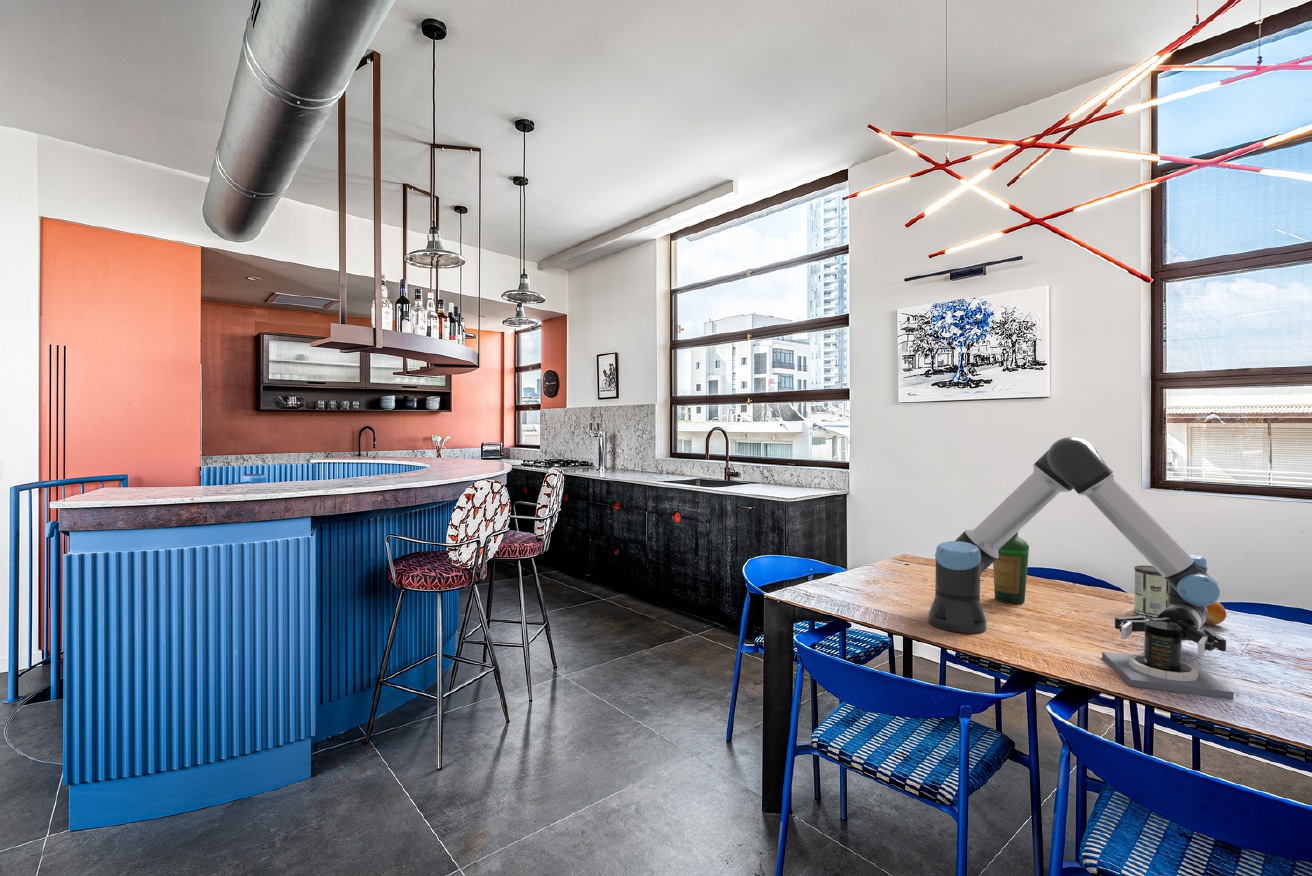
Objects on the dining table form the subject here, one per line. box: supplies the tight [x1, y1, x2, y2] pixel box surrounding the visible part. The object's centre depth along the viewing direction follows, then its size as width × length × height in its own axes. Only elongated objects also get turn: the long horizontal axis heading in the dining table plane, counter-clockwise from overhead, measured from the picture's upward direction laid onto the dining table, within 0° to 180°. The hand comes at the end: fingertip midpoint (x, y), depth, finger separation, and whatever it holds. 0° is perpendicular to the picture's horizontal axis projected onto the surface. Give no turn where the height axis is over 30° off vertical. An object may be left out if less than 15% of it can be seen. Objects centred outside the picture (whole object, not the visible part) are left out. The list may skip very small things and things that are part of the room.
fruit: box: [1204, 600, 1227, 626], centre depth 179 cm, size 8×8×8 cm
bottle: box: [992, 531, 1030, 605], centre depth 201 cm, size 11×11×28 cm
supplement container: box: [1143, 621, 1183, 673], centre depth 140 cm, size 7×7×10 cm
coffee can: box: [1133, 565, 1168, 618], centre depth 188 cm, size 10×10×14 cm
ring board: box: [1101, 651, 1235, 700], centre depth 140 cm, size 18×18×3 cm
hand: (1160, 641), depth 137 cm, fingers open, 13 cm apart
